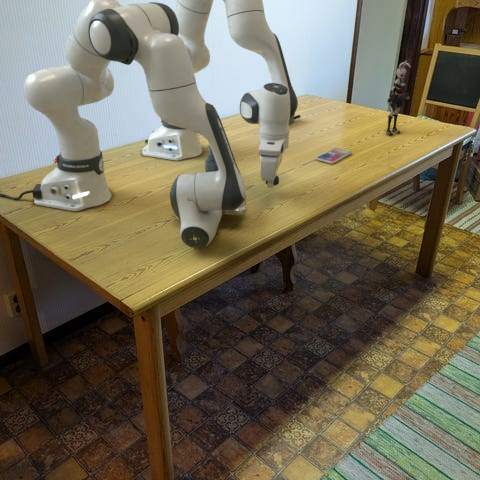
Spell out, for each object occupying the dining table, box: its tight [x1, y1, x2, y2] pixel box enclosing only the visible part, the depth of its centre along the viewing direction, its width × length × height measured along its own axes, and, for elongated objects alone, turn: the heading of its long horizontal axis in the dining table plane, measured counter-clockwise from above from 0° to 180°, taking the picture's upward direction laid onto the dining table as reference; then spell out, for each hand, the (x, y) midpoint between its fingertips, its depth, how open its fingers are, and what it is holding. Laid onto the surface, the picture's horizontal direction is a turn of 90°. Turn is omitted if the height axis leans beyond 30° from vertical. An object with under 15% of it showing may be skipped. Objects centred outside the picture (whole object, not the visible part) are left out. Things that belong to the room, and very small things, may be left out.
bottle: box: [204, 144, 219, 172], centre depth 146 cm, size 5×5×19 cm
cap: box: [265, 175, 280, 187], centre depth 157 cm, size 4×4×2 cm
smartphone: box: [315, 147, 352, 165], centre depth 188 cm, size 7×1×15 cm
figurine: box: [385, 60, 412, 137], centre depth 207 cm, size 15×6×30 cm, turn 132°
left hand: (214, 189), depth 149 cm, fingers closed on bottle, 5 cm apart
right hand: (271, 183), depth 157 cm, fingers closed on cap, 4 cm apart
